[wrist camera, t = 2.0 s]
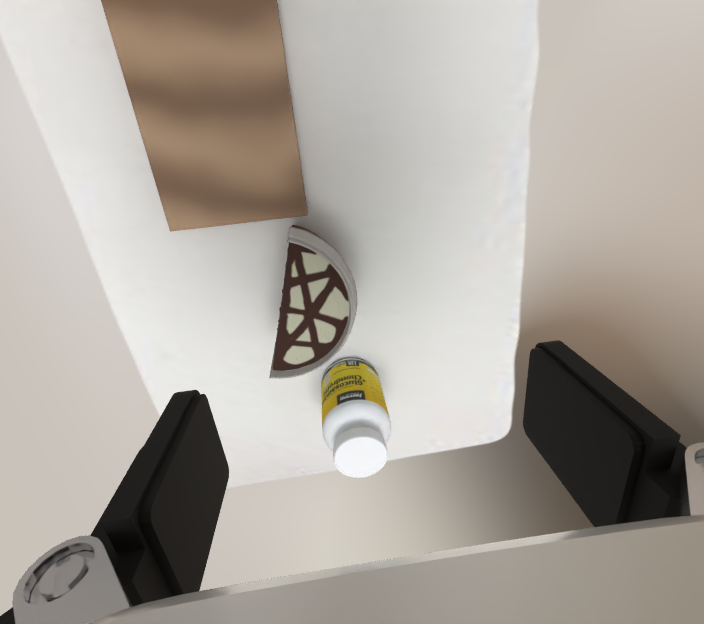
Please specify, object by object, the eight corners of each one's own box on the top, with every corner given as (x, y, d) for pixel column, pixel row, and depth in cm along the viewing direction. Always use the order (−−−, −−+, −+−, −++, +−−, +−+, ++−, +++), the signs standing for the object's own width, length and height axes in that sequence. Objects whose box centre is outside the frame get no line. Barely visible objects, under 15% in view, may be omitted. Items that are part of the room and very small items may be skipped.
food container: (336, 335, 41) (343, 391, 31) (278, 328, 40) (268, 383, 30) (359, 220, 36) (376, 248, 27) (294, 208, 35) (288, 232, 26)
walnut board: (91, -62, 26) (79, -73, 25) (265, -76, 27) (263, -88, 25) (175, 227, 34) (170, 231, 33) (307, 212, 35) (307, 215, 34)
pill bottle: (372, 349, 42) (392, 420, 31) (382, 396, 44) (404, 476, 34) (314, 363, 42) (315, 438, 31) (328, 408, 44) (332, 492, 34)
